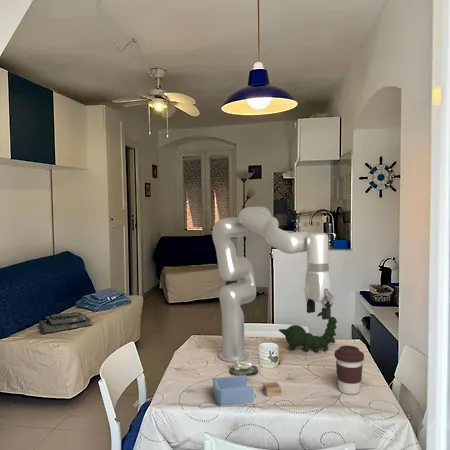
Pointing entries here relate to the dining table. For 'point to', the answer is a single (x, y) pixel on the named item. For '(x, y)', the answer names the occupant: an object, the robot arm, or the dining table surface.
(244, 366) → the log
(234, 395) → the box
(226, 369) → the dining table surface
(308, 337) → the toy figurine
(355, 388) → the coffee cup
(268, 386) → the cardboard shipping box
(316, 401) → the dining table surface
